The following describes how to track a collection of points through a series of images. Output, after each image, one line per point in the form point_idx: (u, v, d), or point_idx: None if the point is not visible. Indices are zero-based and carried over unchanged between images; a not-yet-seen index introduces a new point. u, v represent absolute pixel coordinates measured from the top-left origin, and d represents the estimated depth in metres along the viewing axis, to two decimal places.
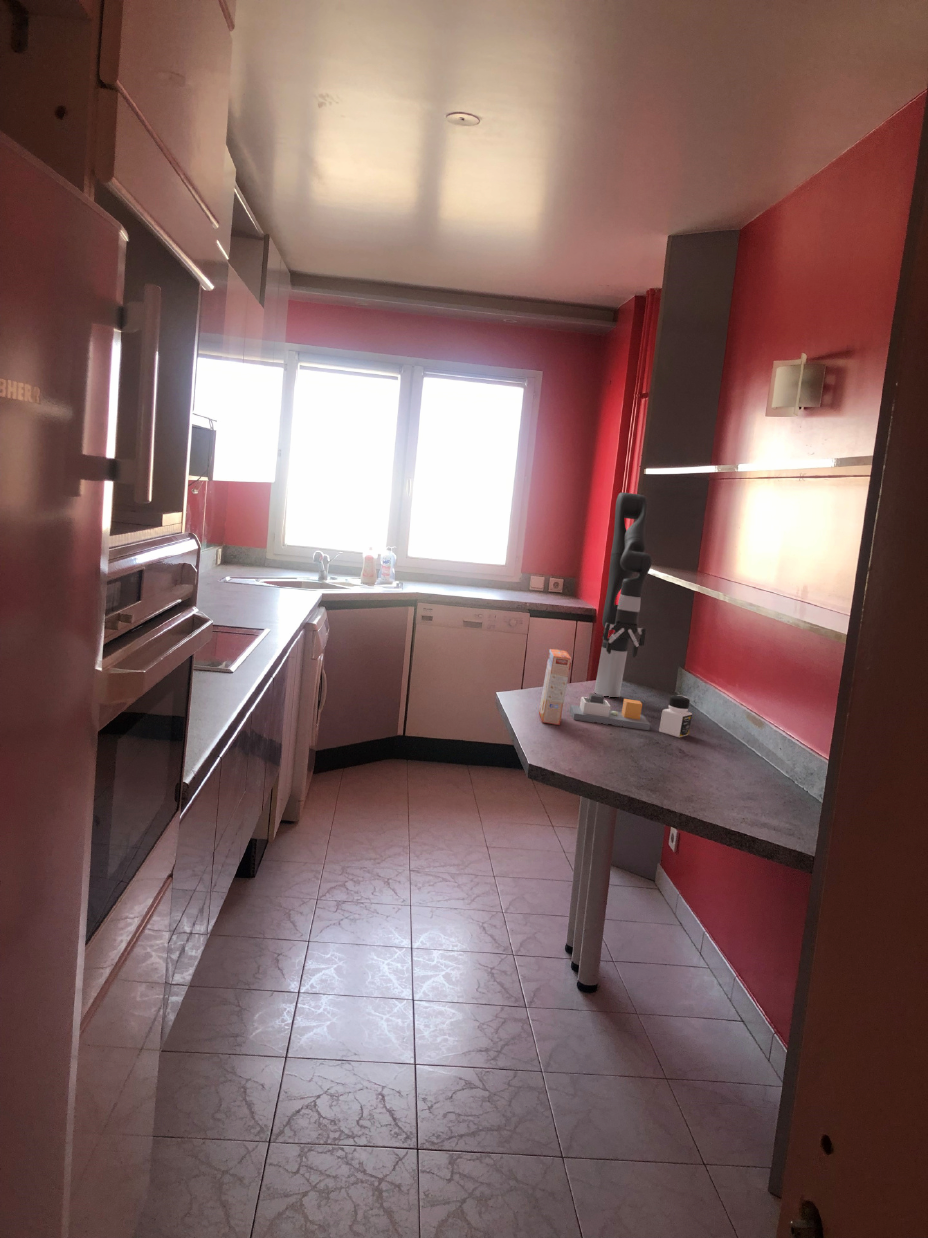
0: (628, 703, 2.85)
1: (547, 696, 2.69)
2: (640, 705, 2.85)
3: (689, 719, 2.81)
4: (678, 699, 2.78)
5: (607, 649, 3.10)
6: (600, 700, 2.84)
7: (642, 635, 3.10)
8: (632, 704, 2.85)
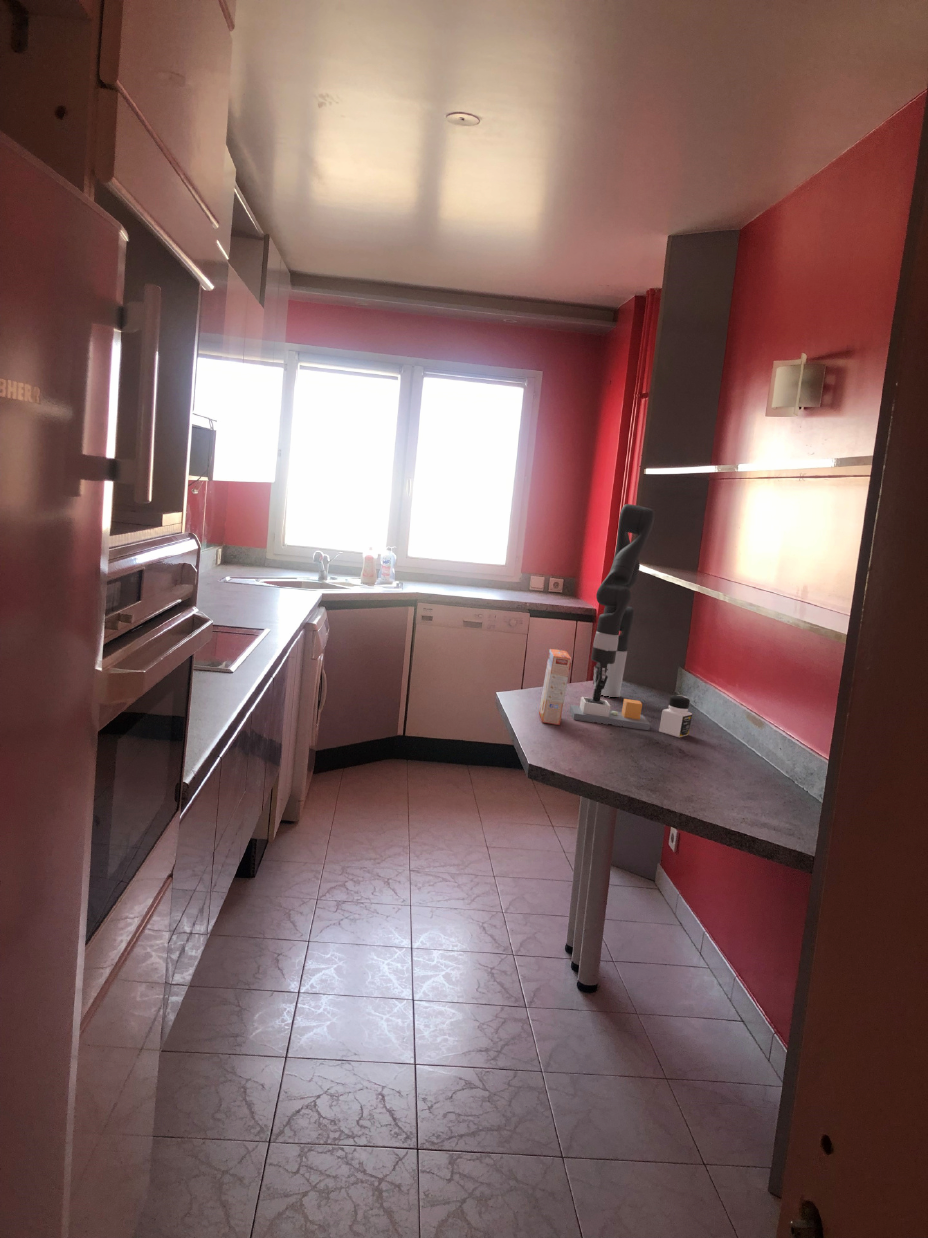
0: (628, 703, 2.85)
1: (547, 696, 2.69)
2: (640, 705, 2.85)
3: (689, 719, 2.81)
4: (678, 699, 2.78)
5: (599, 697, 2.85)
6: None
7: None
8: (632, 704, 2.85)
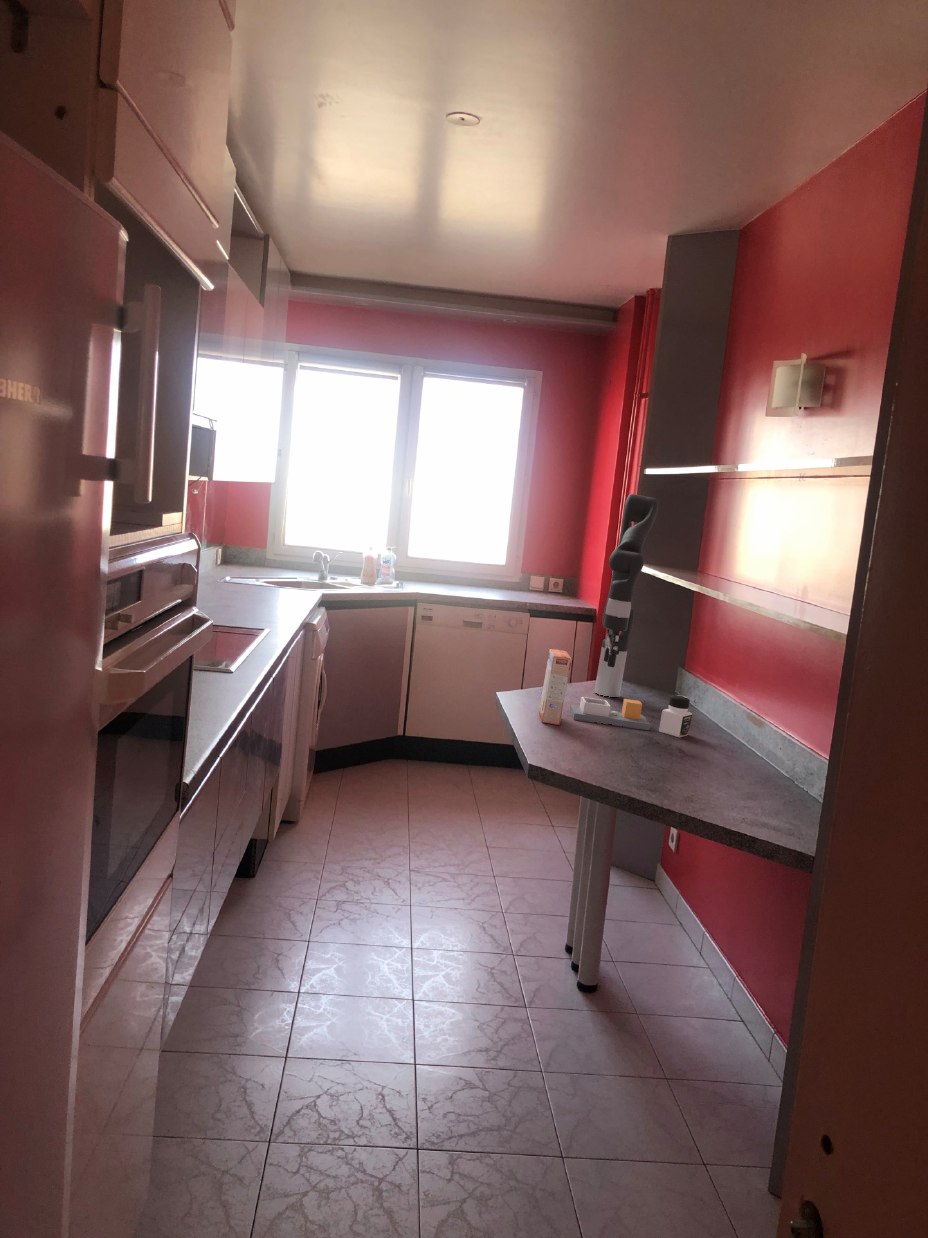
0: (628, 703, 2.85)
1: (547, 696, 2.69)
2: (640, 705, 2.85)
3: (689, 719, 2.81)
4: (678, 699, 2.78)
5: (614, 663, 2.80)
6: None
7: None
8: (632, 704, 2.85)
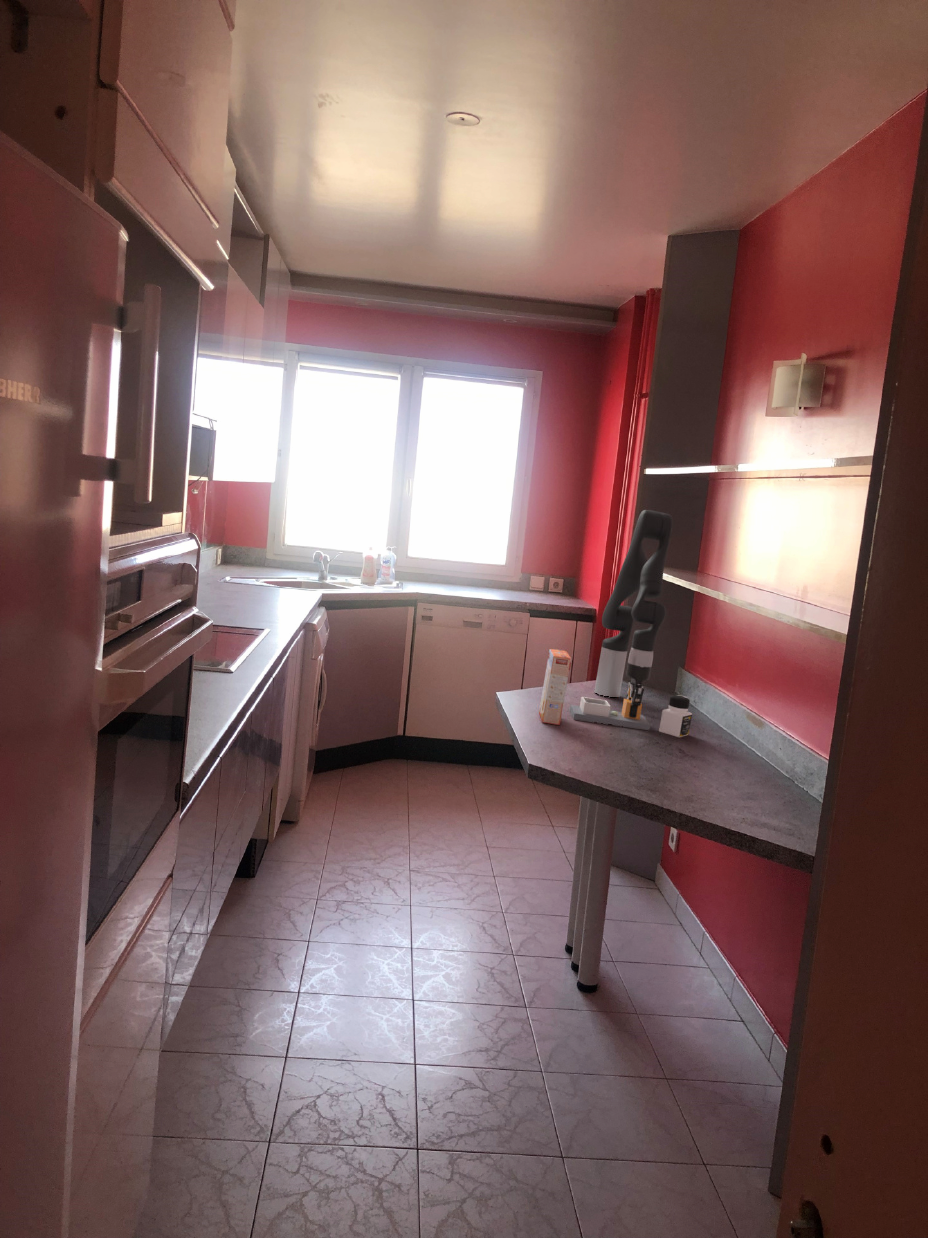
0: (628, 703, 2.85)
1: (547, 696, 2.69)
2: (640, 705, 2.85)
3: (689, 719, 2.81)
4: (678, 699, 2.78)
5: (635, 713, 2.84)
6: None
7: None
8: None
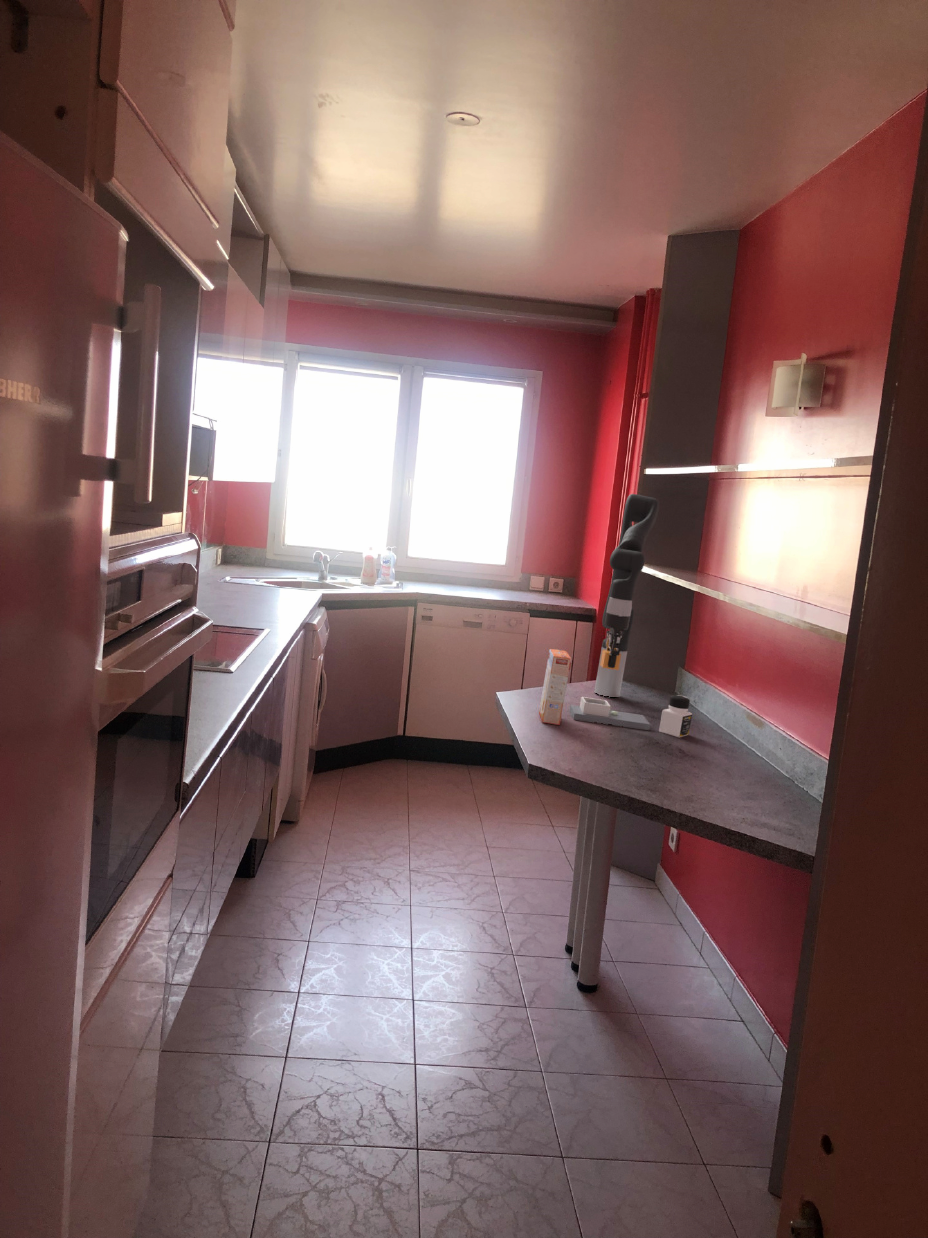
0: (607, 653, 2.81)
1: (547, 696, 2.69)
2: (619, 655, 2.82)
3: (689, 719, 2.81)
4: (678, 699, 2.78)
5: (614, 663, 2.81)
6: None
7: None
8: None
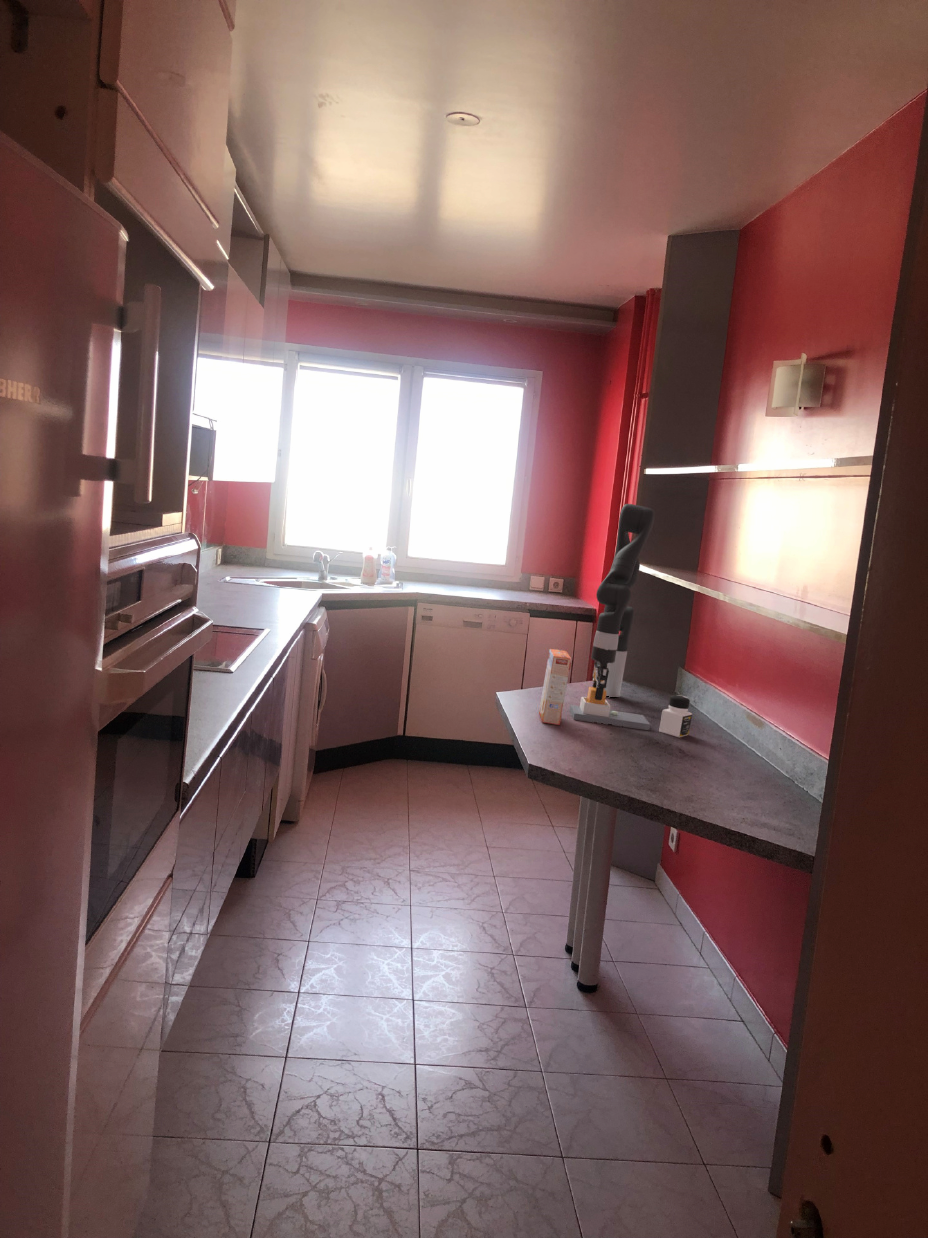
0: (592, 691, 2.83)
1: (547, 696, 2.69)
2: (604, 693, 2.83)
3: (689, 719, 2.81)
4: (678, 699, 2.78)
5: (601, 696, 2.81)
6: None
7: None
8: None
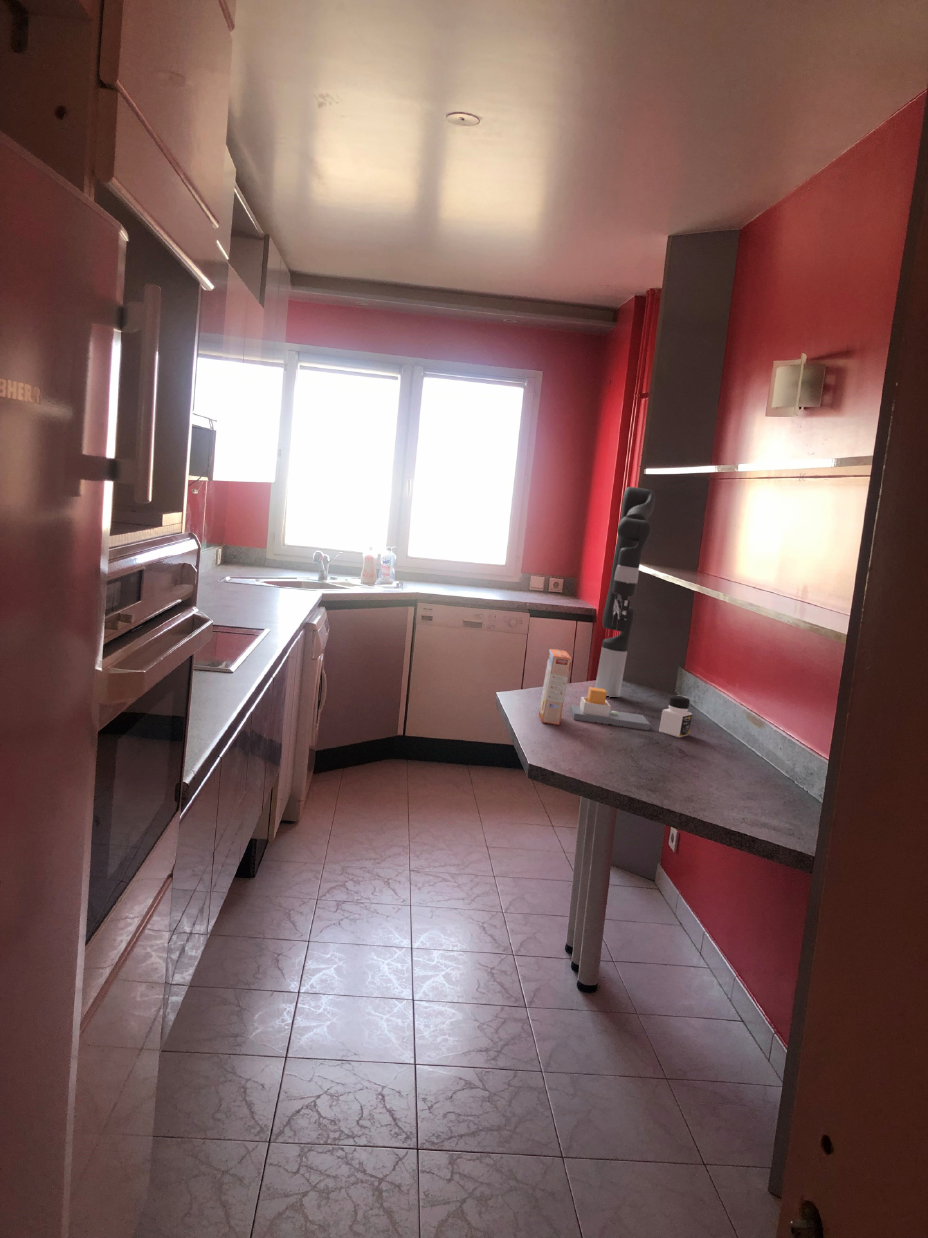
0: (592, 691, 2.83)
1: (547, 696, 2.69)
2: (604, 693, 2.83)
3: (689, 719, 2.81)
4: (678, 699, 2.78)
5: (622, 627, 2.89)
6: None
7: None
8: (596, 692, 2.83)
